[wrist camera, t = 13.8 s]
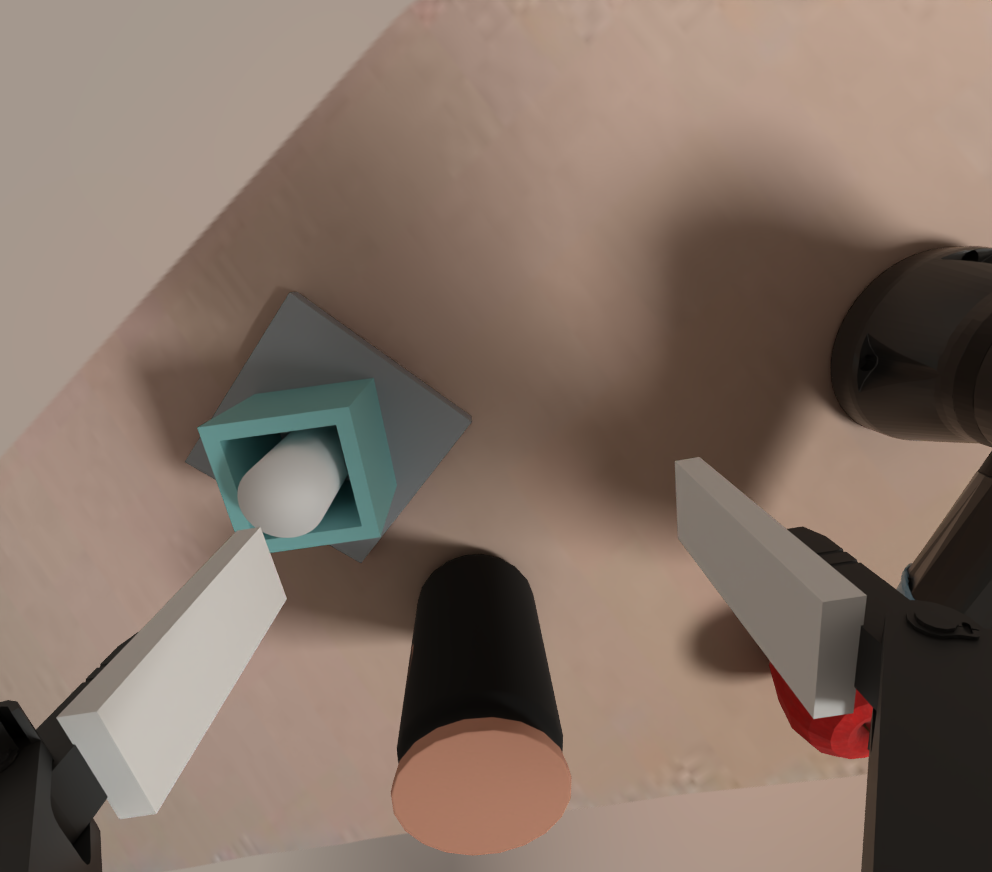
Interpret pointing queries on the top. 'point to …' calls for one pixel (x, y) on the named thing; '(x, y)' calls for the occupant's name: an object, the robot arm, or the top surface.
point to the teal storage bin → (346, 404)
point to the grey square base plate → (317, 451)
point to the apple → (827, 723)
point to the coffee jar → (479, 715)
